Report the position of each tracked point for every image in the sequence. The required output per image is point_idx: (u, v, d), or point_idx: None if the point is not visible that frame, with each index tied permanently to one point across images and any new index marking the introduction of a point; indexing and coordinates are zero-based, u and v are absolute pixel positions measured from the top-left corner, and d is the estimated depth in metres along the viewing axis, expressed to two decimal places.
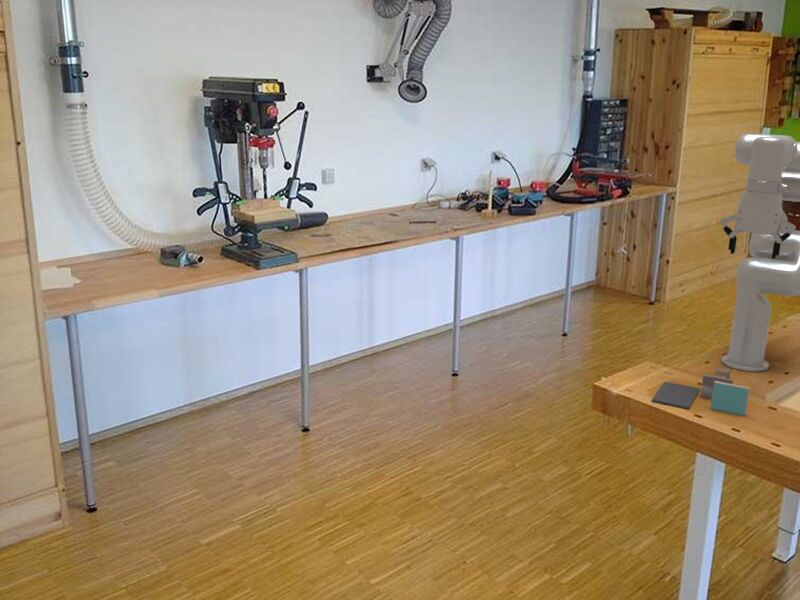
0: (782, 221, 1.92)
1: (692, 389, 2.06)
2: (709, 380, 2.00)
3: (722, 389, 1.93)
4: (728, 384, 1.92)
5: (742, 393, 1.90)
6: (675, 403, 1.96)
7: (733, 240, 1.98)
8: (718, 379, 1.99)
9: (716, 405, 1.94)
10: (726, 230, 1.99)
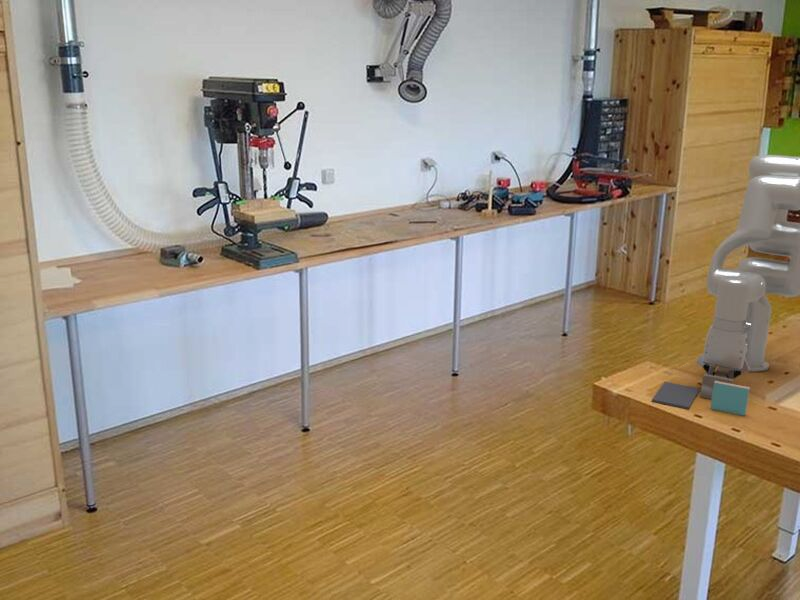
0: None
1: (692, 389, 2.06)
2: (709, 380, 2.00)
3: (722, 389, 1.93)
4: (728, 384, 1.92)
5: (742, 393, 1.90)
6: (675, 403, 1.96)
7: None
8: (718, 379, 1.99)
9: (716, 405, 1.94)
10: (705, 368, 2.06)
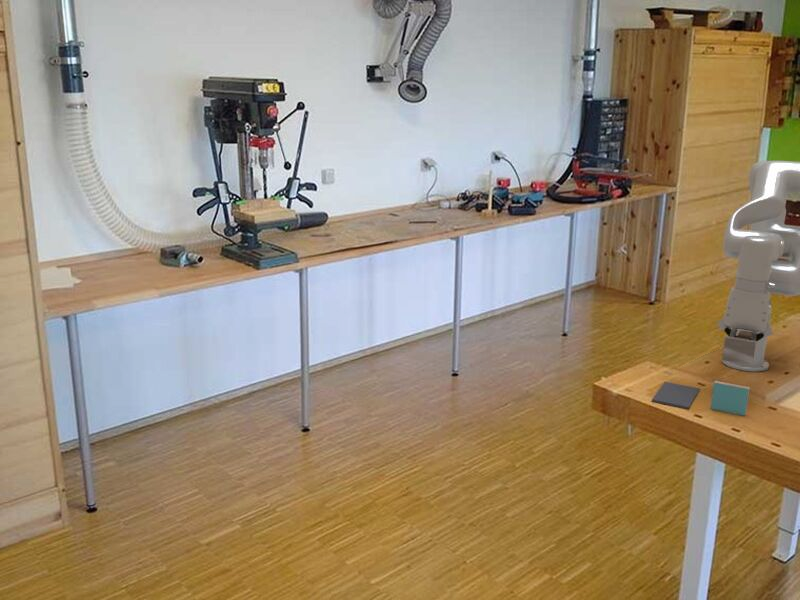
0: None
1: (692, 389, 2.06)
2: (731, 342, 1.94)
3: (722, 389, 1.93)
4: (728, 384, 1.92)
5: (742, 393, 1.90)
6: (675, 403, 1.96)
7: None
8: (741, 341, 1.93)
9: (716, 405, 1.94)
10: (727, 331, 2.00)
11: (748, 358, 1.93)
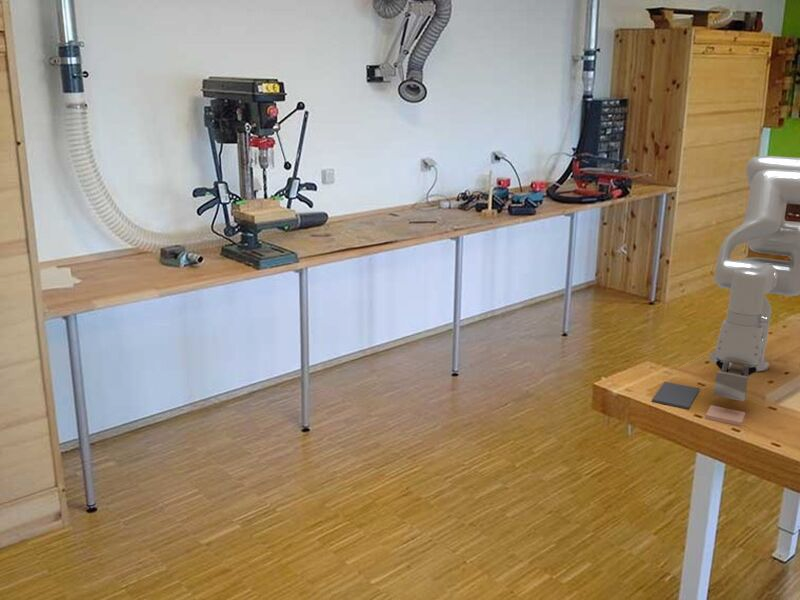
0: None
1: (692, 389, 2.06)
2: (723, 377, 1.90)
3: None
4: (719, 421, 1.88)
5: None
6: (675, 403, 1.96)
7: None
8: (732, 376, 1.89)
9: None
10: (719, 364, 1.96)
11: (740, 394, 1.89)
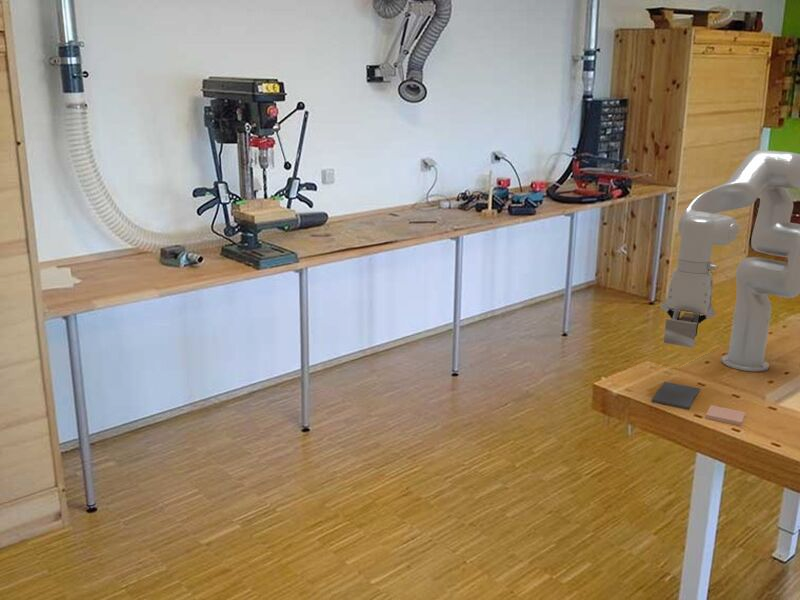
0: None
1: (692, 389, 2.06)
2: (672, 324, 1.92)
3: None
4: (719, 421, 1.88)
5: None
6: (675, 403, 1.96)
7: None
8: (681, 323, 1.91)
9: None
10: (670, 313, 1.98)
11: (689, 341, 1.91)
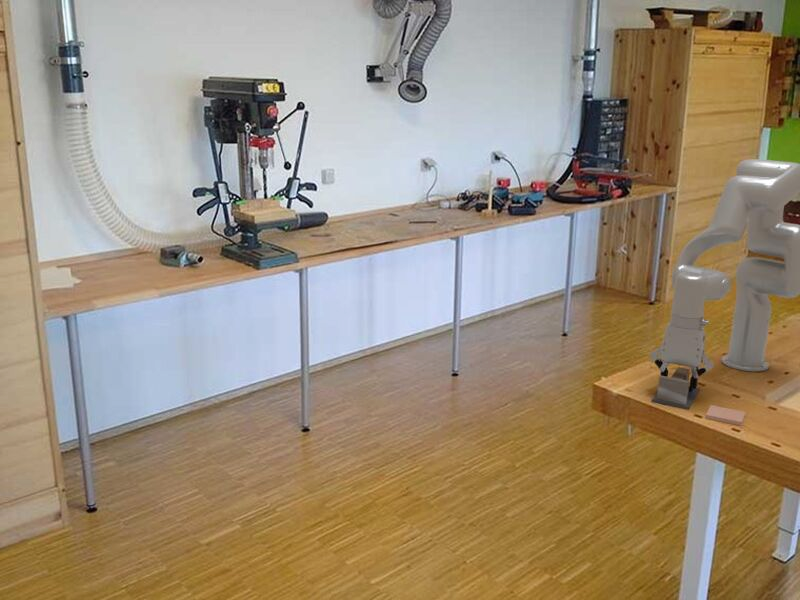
0: (702, 357, 1.97)
1: None
2: (665, 381, 1.96)
3: None
4: None
5: None
6: (675, 403, 1.96)
7: (664, 374, 2.02)
8: (674, 380, 1.95)
9: None
10: (657, 363, 2.03)
11: (681, 398, 1.95)
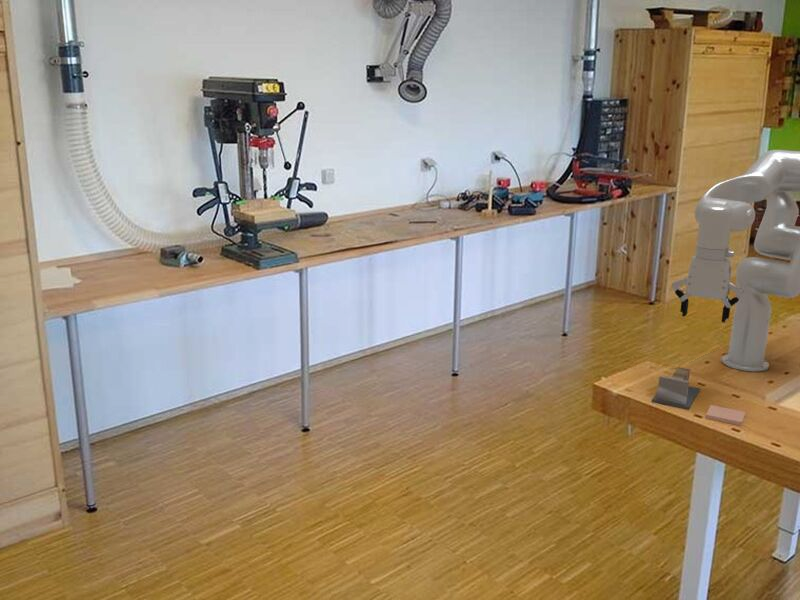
0: (730, 286, 1.96)
1: (692, 389, 2.06)
2: (665, 381, 1.96)
3: None
4: (720, 421, 1.88)
5: None
6: (675, 403, 1.96)
7: (684, 303, 2.02)
8: (674, 380, 1.95)
9: None
10: (677, 293, 2.03)
11: (681, 398, 1.95)
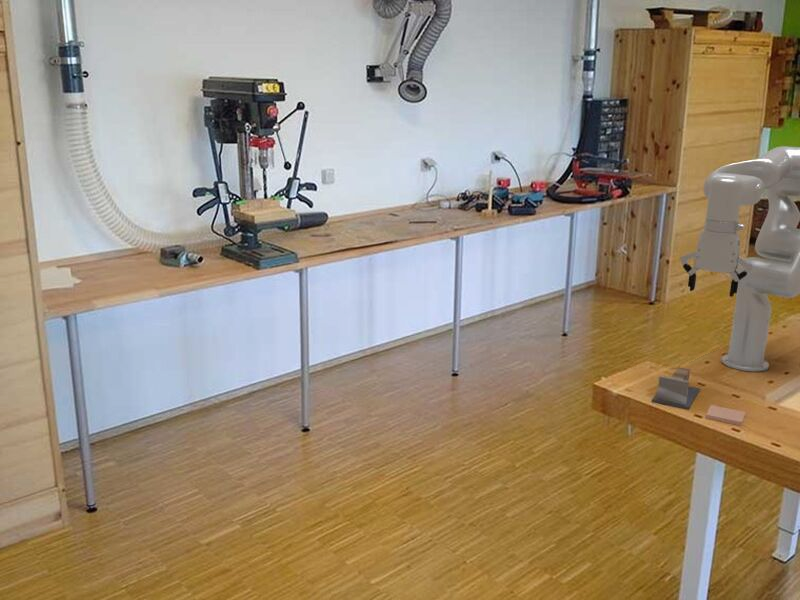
0: (739, 260, 1.96)
1: (692, 389, 2.06)
2: (665, 381, 1.96)
3: None
4: (720, 420, 1.88)
5: None
6: (675, 403, 1.96)
7: (692, 277, 2.01)
8: (674, 380, 1.95)
9: None
10: (685, 267, 2.02)
11: (681, 398, 1.95)
